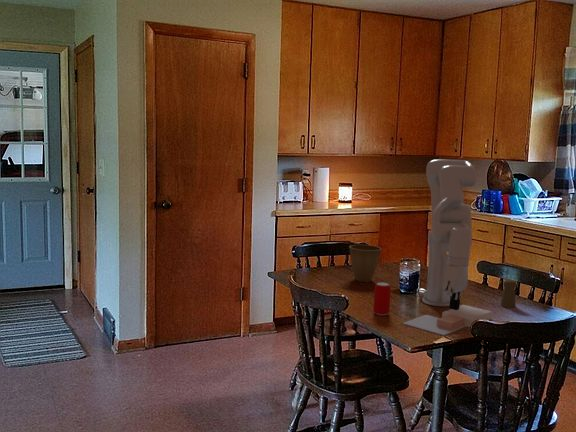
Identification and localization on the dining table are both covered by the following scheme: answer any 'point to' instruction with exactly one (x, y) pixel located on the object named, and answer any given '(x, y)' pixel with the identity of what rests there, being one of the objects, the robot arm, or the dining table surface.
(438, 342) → the dining table surface
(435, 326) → the mat
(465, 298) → the dining table surface
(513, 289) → the cork
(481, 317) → the grey flat block
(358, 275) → the plant pot
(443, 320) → the terracotta tile
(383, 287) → the beverage can
